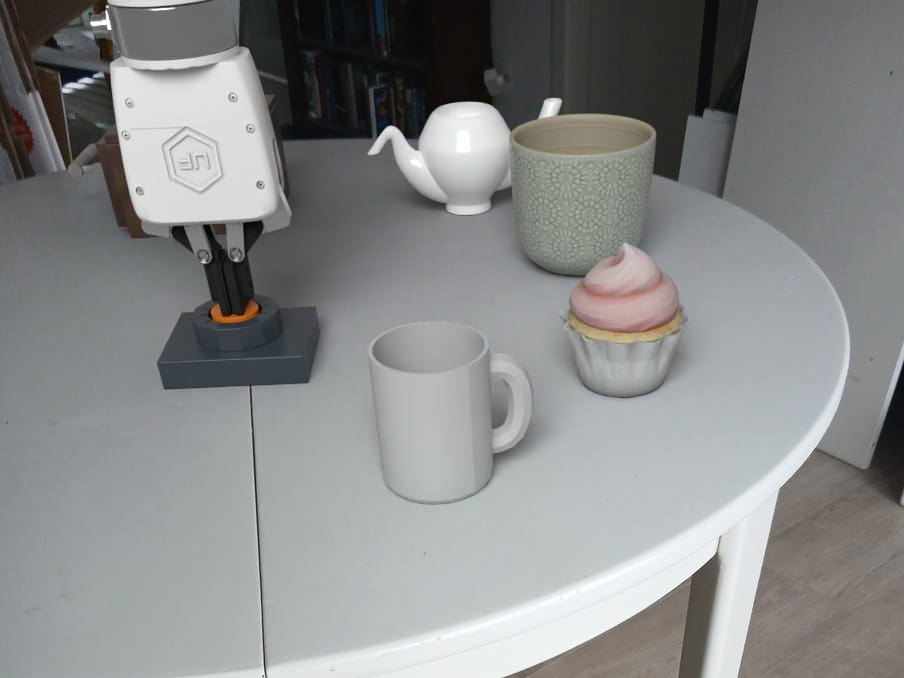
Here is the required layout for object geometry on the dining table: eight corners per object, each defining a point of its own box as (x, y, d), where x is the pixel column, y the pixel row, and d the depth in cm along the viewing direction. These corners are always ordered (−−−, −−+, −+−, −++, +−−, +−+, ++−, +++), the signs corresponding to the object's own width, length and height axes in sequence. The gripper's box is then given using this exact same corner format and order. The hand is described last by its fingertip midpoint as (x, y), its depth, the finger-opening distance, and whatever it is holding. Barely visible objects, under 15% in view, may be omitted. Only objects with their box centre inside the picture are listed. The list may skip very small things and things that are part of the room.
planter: (534, 232, 96) (534, 110, 89) (660, 243, 93) (670, 116, 86) (492, 281, 88) (488, 150, 81) (628, 295, 84) (637, 159, 77)
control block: (163, 389, 75) (149, 339, 72) (187, 337, 82) (176, 290, 79) (307, 383, 75) (299, 332, 72) (320, 331, 81) (312, 284, 79)
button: (211, 341, 75) (206, 319, 74) (220, 321, 78) (215, 299, 77) (258, 339, 75) (254, 317, 74) (265, 319, 78) (261, 297, 77)
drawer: (77, 229, 100) (51, 146, 94) (106, 192, 108) (85, 114, 103) (251, 221, 99) (235, 137, 94) (267, 184, 108) (253, 106, 103)
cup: (376, 455, 66) (360, 328, 61) (520, 434, 68) (519, 309, 62) (391, 514, 61) (375, 382, 55) (547, 491, 62) (548, 359, 56)
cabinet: (130, 238, 100) (103, 135, 93) (159, 197, 109) (135, 100, 103) (274, 231, 100) (256, 127, 93) (290, 190, 109) (274, 94, 103)
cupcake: (565, 347, 77) (567, 216, 71) (686, 353, 76) (700, 219, 69) (549, 405, 71) (550, 266, 64) (681, 413, 69) (697, 271, 62)
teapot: (366, 205, 104) (355, 108, 98) (546, 182, 108) (546, 87, 101) (383, 236, 97) (372, 133, 91) (575, 210, 101) (577, 110, 95)
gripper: (42, 50, 60) (126, 334, 73) (284, 37, 60) (328, 325, 72) (77, 26, 66) (150, 294, 78) (299, 14, 66) (338, 284, 78)
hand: (236, 308), depth 75 cm, fingers closed
